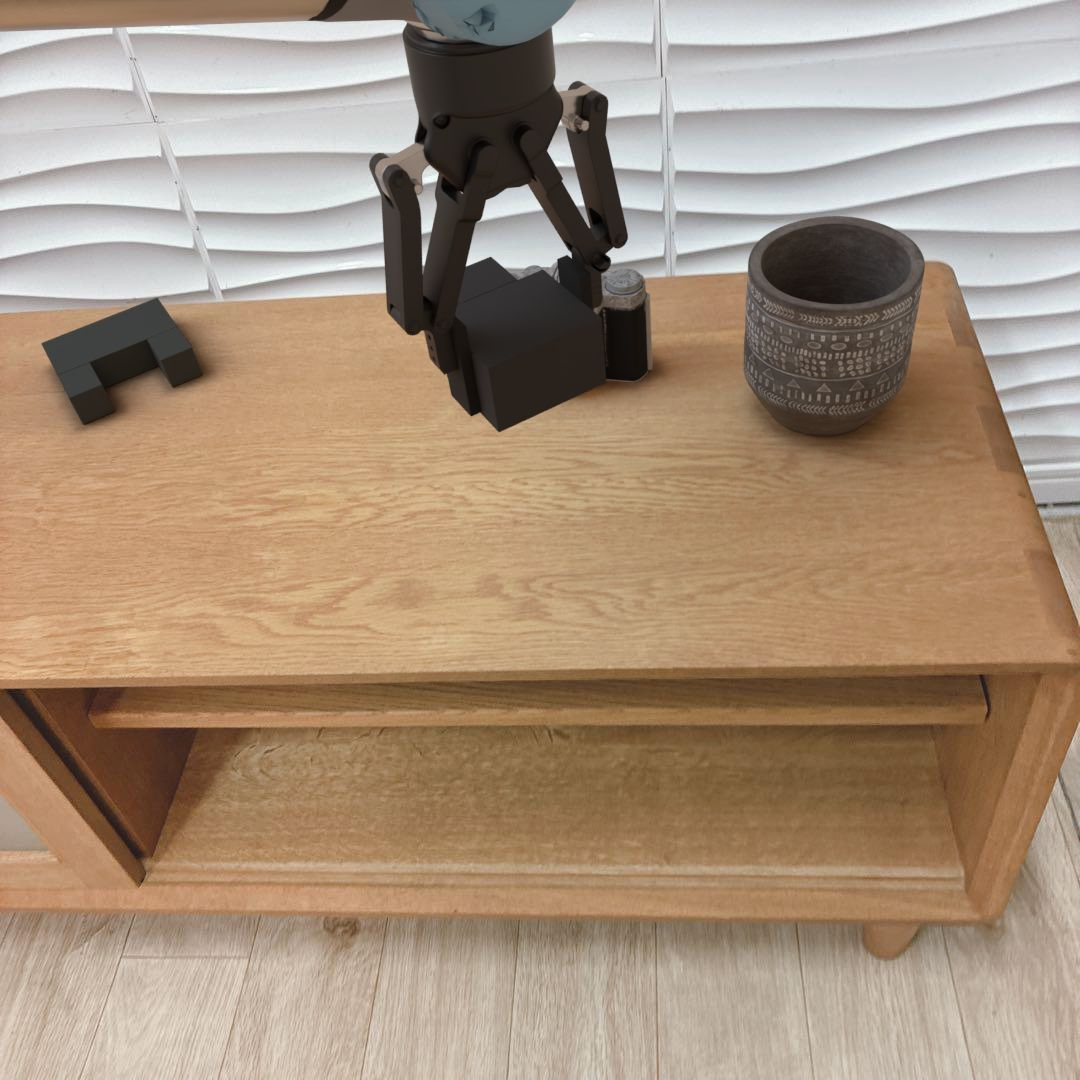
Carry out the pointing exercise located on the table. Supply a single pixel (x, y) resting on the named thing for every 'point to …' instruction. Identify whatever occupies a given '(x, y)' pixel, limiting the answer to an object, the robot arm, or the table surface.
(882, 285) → the planter
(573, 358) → the pad
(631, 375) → the camera
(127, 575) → the table surface
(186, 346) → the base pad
